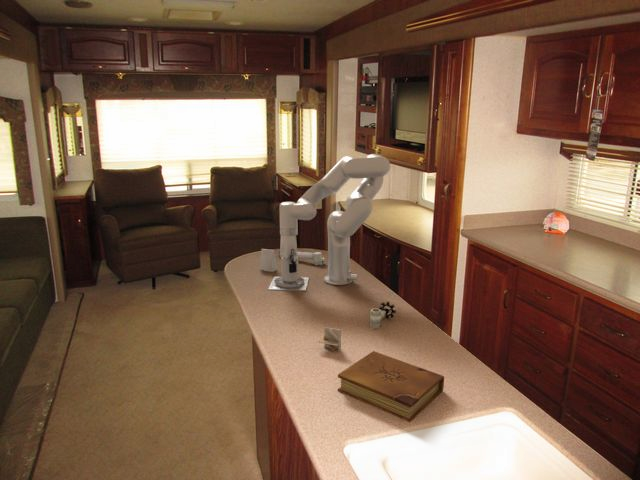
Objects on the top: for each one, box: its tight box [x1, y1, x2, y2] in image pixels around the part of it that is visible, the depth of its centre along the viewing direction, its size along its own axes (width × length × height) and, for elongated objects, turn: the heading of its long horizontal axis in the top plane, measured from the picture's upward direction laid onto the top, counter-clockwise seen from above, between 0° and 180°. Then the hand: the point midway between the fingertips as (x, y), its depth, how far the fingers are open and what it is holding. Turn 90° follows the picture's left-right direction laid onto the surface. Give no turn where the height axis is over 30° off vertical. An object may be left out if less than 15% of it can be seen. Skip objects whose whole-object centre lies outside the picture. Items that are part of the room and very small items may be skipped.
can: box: [280, 255, 299, 283], centre depth 226 cm, size 8×8×12 cm
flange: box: [267, 275, 310, 292], centre depth 228 cm, size 16×16×2 cm
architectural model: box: [317, 326, 342, 352], centre depth 168 cm, size 3×7×7 cm, turn 70°
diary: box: [337, 350, 445, 423], centre depth 145 cm, size 23×19×6 cm
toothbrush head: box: [278, 251, 326, 266], centre depth 259 cm, size 5×7×25 cm
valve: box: [369, 301, 397, 330], centre depth 188 cm, size 7×7×12 cm
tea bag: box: [259, 248, 277, 273], centre depth 245 cm, size 4×7×10 cm, turn 66°
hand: (289, 269), depth 226 cm, fingers open, 9 cm apart
